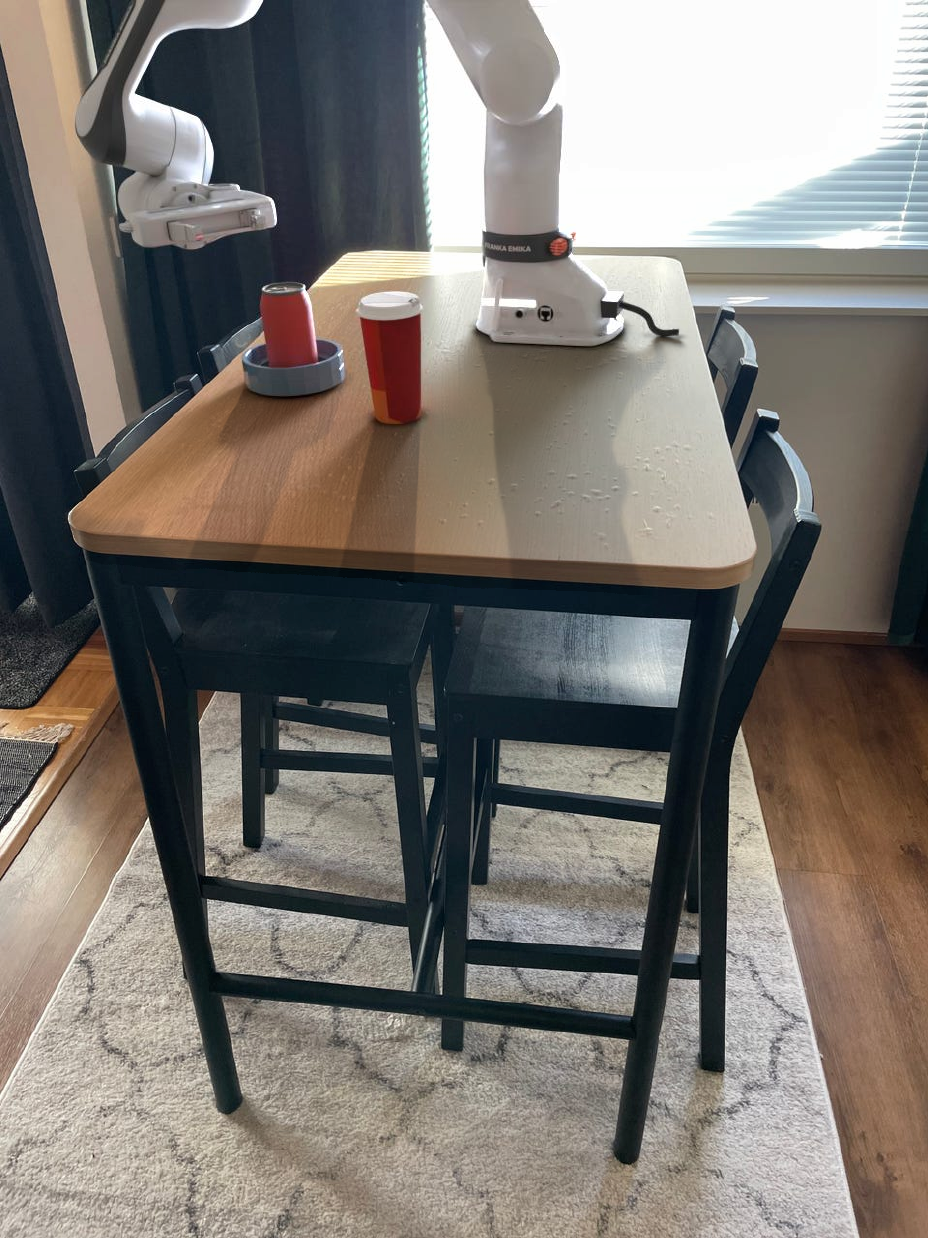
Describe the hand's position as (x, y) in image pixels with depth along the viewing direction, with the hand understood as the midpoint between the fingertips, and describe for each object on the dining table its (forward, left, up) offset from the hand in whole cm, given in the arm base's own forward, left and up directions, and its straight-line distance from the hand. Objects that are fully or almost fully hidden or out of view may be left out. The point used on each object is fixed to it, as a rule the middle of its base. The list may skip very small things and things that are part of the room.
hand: (230, 228), depth 123 cm
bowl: (-11, +5, -18) cm, 22 cm away
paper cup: (-30, +11, -18) cm, 37 cm away
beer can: (-11, +5, -18) cm, 22 cm away
